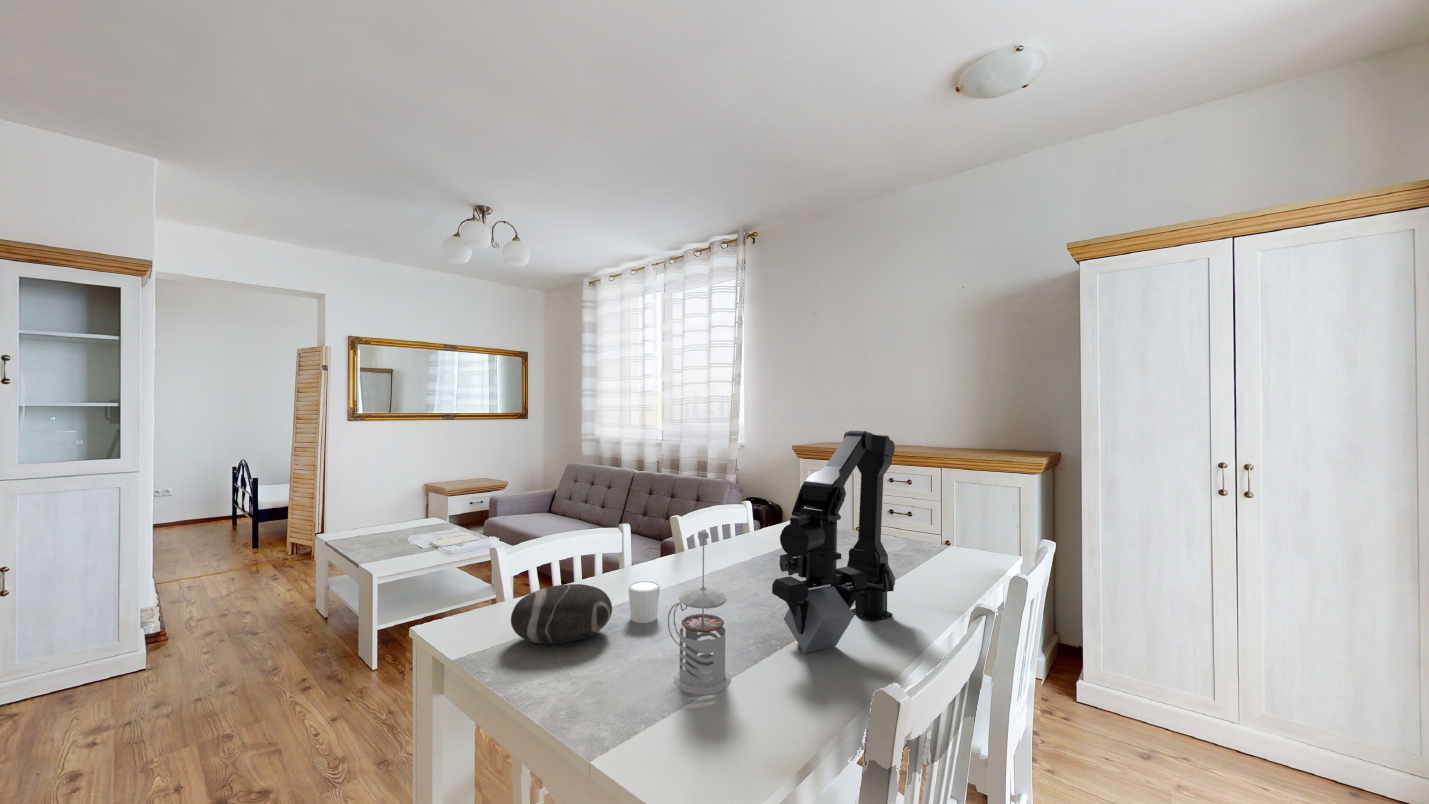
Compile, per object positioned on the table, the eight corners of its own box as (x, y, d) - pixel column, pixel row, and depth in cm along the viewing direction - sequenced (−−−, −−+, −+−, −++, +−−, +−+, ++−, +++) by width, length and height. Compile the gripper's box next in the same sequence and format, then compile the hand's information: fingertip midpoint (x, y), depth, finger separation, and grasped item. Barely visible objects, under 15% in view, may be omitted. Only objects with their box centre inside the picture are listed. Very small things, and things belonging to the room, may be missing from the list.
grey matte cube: (813, 614, 113) (831, 583, 110) (835, 646, 107) (854, 614, 104) (783, 619, 109) (800, 586, 106) (804, 652, 104) (823, 620, 100)
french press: (711, 700, 88) (712, 540, 88) (652, 680, 94) (653, 531, 94) (742, 675, 96) (743, 528, 96) (686, 658, 102) (687, 521, 102)
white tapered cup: (654, 625, 117) (654, 592, 117) (623, 622, 118) (623, 589, 118) (663, 613, 124) (664, 581, 124) (634, 611, 125) (634, 579, 125)
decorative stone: (513, 662, 100) (513, 606, 100) (508, 632, 113) (508, 582, 113) (619, 644, 108) (620, 592, 108) (603, 618, 121) (603, 571, 121)
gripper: (830, 532, 117) (829, 607, 117) (756, 541, 108) (754, 623, 108) (869, 544, 107) (868, 626, 107) (791, 556, 98) (789, 645, 98)
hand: (820, 629), depth 105 cm, fingers open, 9 cm apart
